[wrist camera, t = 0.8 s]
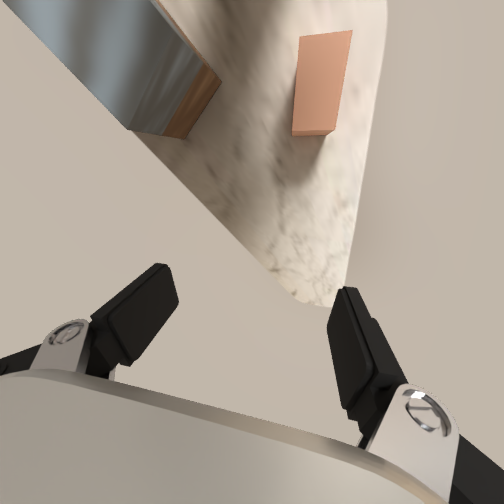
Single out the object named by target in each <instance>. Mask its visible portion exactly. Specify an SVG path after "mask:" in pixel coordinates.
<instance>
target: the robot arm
mask: <svg viewBox="0 0 504 504" xmlns="http://www.w3.org/2000/svg"><path fill="white" fill-rule="evenodd" d="M178 303H179V300H178V296H177V292H176V288H175V285H174V281H173V277H172V273H171V270H170V268H169V267H168V265H167V264H161V263H155V264H154V265H153V266H152V267H150V268H149V269H148V270H146V271H145V272H144V273H143V274H141V275H140V276H139V277H138V278H137V279H135V280H134V281H133V282H132V283H130V284H129V285H128V286H127V287H125V288H124V289H123V290H122V291H120V292H119V293H118V294H117V295H116V296H114V298H112V299H111V300H109V301H108V302H107V303H106V304H104V305H103V306H102V307H101V308H100V309H98V310H97V311H96V312H95V313H93V314H92V315H91V316H90V317H91V319H92V321H91V322H90V323H89V322H88V321H87V320H85V319H76V320H72V321H70V322H67V323H64V324H63V325H61V326H59V327H57V328H56V329H54V330H53V331H52V332H50V333H49V334H48V335H47V336H46V338H45V339H44V341H43V343H42V344H40V345H37V346H34V347H31V348H29V349H26V350H23V351H21V352H18V353H15V354H12V355H10V356H7V357H4V358H2V359H0V504H504V470H503V469H501V468H500V467H499V466H498V465H497V464H495V463H494V462H493V461H492V460H491V459H489V458H488V457H487V456H486V455H484V454H483V453H482V452H481V451H480V450H478V449H477V448H476V447H475V446H474V445H472V444H471V443H470V442H469V441H468V440H466V439H465V438H464V437H463V436H461V435H460V434H459V429H458V426H457V424H456V421H455V419H454V417H453V416H452V415H451V413H450V411H449V410H448V409H447V408H446V407H445V406H444V405H443V403H442V402H441V401H440V400H438V399H437V398H436V397H435V396H434V395H432V394H431V393H430V392H428V391H426V390H425V389H423V388H421V387H419V386H416V385H413V384H409V383H408V382H407V379H406V378H405V376H404V374H403V371H402V369H401V367H400V366H399V364H398V362H397V360H396V358H395V356H394V354H393V352H392V350H391V348H390V346H389V344H388V342H387V340H386V338H385V336H384V334H383V332H382V330H381V328H380V326H379V324H378V322H377V320H376V319H374V318H371V316H370V314H369V312H368V310H367V308H366V306H365V303H364V301H363V299H362V297H361V295H360V293H359V291H358V289H357V288H354V287H346V286H344V287H343V288H342V289H338V292H337V295H336V298H335V301H334V305H333V308H332V311H331V314H330V317H329V320H328V324H327V334H328V338H329V344H330V349H331V355H332V359H333V365H334V370H335V375H336V380H337V386H338V391H339V396H340V401H341V406H342V408H343V409H346V410H347V415H348V419H350V420H354V421H357V422H358V426H359V430H360V432H361V433H362V435H361V437H360V439H359V441H358V443H357V445H356V447H354V446H352V445H349V444H346V443H343V442H340V441H337V440H334V439H331V438H327V437H323V436H320V435H317V434H313V433H310V432H306V431H302V430H299V429H296V428H292V427H288V426H285V425H281V424H277V423H273V422H270V421H266V420H262V419H258V418H254V417H251V416H246V415H243V414H239V413H236V412H231V411H227V410H224V409H220V408H216V407H213V406H209V405H205V404H201V403H197V402H194V401H190V400H186V399H182V398H178V397H174V396H170V395H166V394H163V393H158V392H155V391H151V390H147V389H143V388H139V387H135V386H131V385H127V384H123V383H119V382H115V381H114V377H115V368H116V365H117V364H118V363H120V364H121V365H124V366H129V367H130V366H131V365H132V363H133V362H134V361H135V360H137V359H138V358H139V357H140V356H141V355H142V353H143V352H144V350H145V349H146V348H147V346H148V345H149V344H150V343H151V341H152V340H153V338H154V337H155V336H156V334H157V333H158V332H159V330H160V329H161V328H162V326H163V325H164V324H165V322H166V321H167V320H168V318H169V317H170V316H171V314H172V313H173V312H174V310H175V309H176V308H177V306H178Z"/></svg>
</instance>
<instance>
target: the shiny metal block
mask: <svg viewBox="0 0 504 504" xmlns="http://www.w3.org/2000/svg"><path fill="white" fill-rule="evenodd" d="M3 2H4V3H5V4H6V5H7V6H8V7H9V8H10V9H11V10H12V11H13V12H14V13H15V14H16V15H17V16H18V17H19V18H20V19H21V20H22V21H23V23H24V24H25V25H27V27H28V28H29V29H30V30H31V31H32V32H33V33H34V34H35V35H36V36H37V37H38V38H39V39H40V40H41V41H42V42H43V43H44V44H45V45H46V46H47V47H48V48H49V49H50V50H51V51H52V52H53V54H54V55H55V56H56V57H57V58H59V60H60V61H61V62H62V63H63V64H64V65H65V66H66V67H67V68H68V69H69V70H70V71H71V72H72V73H73V74H74V75H75V76H76V77H77V78H78V79H79V80H80V81H81V82H82V84H84V86H85V87H86V88H87V89H88V90H89V91H90V92H91V93H92V94H93V95H94V96H95V97H96V98H97V99H98V100H99V101H100V102H101V103H102V104H103V105H104V106H105V107H106V108H107V109H108V110H109V111H110V113H111V114H113V116H114V117H115V118H116V119H117V120H118V121H119V122H120V123H121V124H122V125H123V126H124V127H125V128H126V129H127V130H132V131H138V132H144V133H150V134H156V135H162V136H168V137H174V138H180V139H185V137H186V135H187V134H188V132H189V131H190V129H191V128H192V126H193V125H194V123H195V122H196V120H197V119H198V117H199V116H200V114H201V113H202V111H203V110H204V108H205V107H206V105H207V104H208V102H209V100H210V99H211V97H212V96H213V94H214V93H215V91H216V90H217V88H218V87H219V85H220V84H221V80H220V79H219V78H218V77H217V75H216V74H215V73H214V71H213V70H212V69H211V67H210V66H209V65H208V64H207V62H206V61H205V60H204V58H203V57H202V56H201V55H200V53H199V52H198V51H197V49H196V48H195V47H194V46H193V44H192V43H191V42H190V40H189V39H188V38H187V36H186V35H185V34H184V33H183V31H182V30H181V29H180V27H179V26H178V25H177V24H176V22H175V21H174V20H173V18H172V17H171V16H170V15H169V13H168V12H167V11H166V9H165V8H164V7H163V6H162V4H161V3H160V2H159V0H3Z"/></svg>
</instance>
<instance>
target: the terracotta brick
mask: <svg viewBox="0 0 504 504" xmlns="http://www.w3.org/2000/svg"><path fill="white" fill-rule="evenodd" d="M352 31H353V30H350V31H341V32H333V33H325V34H317V35H309V36H301V37H300V38H299V50H298V62H297V74H296V86H295V99H294V111H293V123H292V136H312V135H327V134H329V133H331V132H332V131H334V130H335V127H336V121H337V116H338V110H339V104H340V99H341V93H342V87H343V82H344V76H345V70H346V65H347V59H348V53H349V48H350V42H351V36H352Z"/></svg>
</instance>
